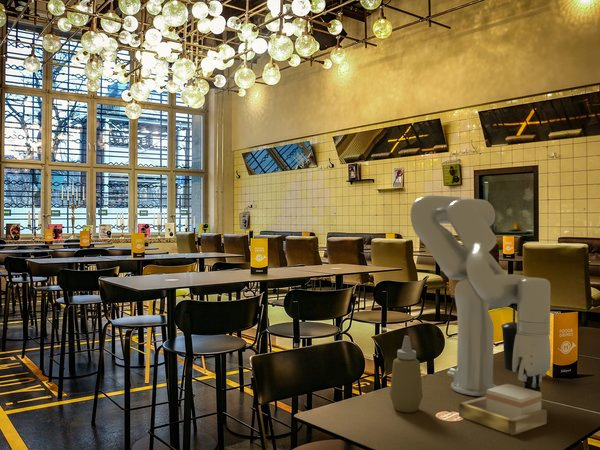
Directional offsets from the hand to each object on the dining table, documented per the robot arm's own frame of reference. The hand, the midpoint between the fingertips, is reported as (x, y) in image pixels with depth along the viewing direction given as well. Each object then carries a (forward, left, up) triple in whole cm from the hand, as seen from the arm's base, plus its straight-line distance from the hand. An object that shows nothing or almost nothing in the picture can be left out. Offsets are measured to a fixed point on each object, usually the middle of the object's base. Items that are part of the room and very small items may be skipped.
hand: (532, 401), depth 137 cm
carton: (0, -7, -2) cm, 7 cm away
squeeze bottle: (-18, -26, -2) cm, 31 cm away
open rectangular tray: (0, -11, -2) cm, 12 cm away
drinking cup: (-27, +32, -2) cm, 42 cm away
